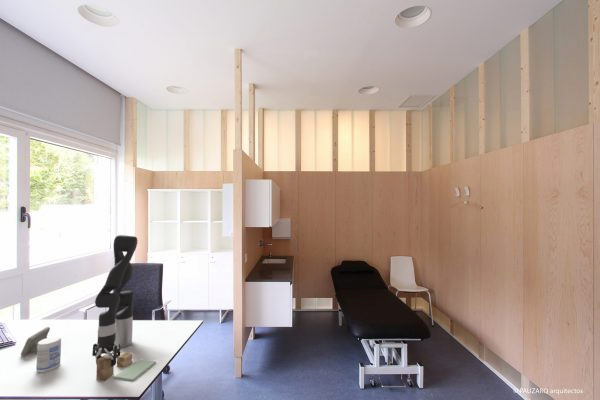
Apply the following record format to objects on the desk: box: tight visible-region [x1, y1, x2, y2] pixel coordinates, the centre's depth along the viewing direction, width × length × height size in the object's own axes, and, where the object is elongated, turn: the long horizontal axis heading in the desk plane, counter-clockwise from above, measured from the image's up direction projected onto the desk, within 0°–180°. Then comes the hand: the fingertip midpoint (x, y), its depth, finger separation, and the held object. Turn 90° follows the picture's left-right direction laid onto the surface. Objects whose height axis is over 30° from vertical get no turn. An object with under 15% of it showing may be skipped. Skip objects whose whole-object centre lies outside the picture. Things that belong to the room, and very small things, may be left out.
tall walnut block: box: [95, 353, 115, 382], centre depth 137 cm, size 5×5×10 cm
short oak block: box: [116, 351, 133, 368], centre depth 149 cm, size 5×5×5 cm
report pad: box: [113, 358, 157, 382], centre depth 143 cm, size 11×16×1 cm
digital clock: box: [20, 326, 51, 357], centre depth 163 cm, size 16×9×11 cm, turn 0°
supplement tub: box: [35, 335, 62, 373], centre depth 145 cm, size 10×10×15 cm
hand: (106, 365), depth 137 cm, fingers open, 8 cm apart
